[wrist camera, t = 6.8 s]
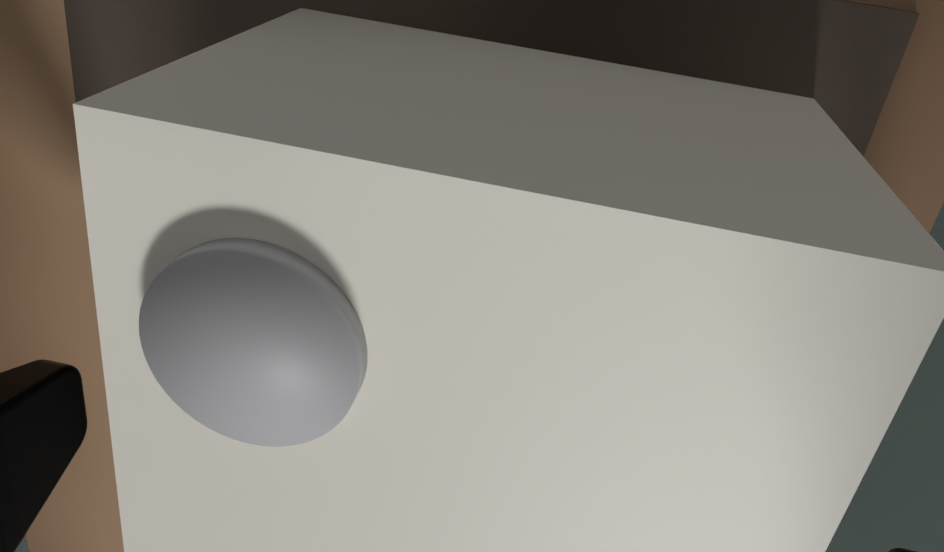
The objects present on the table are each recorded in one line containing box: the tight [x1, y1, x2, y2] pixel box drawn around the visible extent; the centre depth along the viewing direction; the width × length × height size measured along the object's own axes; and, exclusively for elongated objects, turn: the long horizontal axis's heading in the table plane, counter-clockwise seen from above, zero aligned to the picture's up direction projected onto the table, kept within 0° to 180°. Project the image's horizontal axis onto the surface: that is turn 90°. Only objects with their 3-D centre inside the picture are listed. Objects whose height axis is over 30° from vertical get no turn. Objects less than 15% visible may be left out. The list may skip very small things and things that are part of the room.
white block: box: [73, 8, 944, 552], centre depth 8 cm, size 6×9×4 cm, turn 172°
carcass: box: [0, 0, 944, 552], centre depth 11 cm, size 12×14×5 cm
